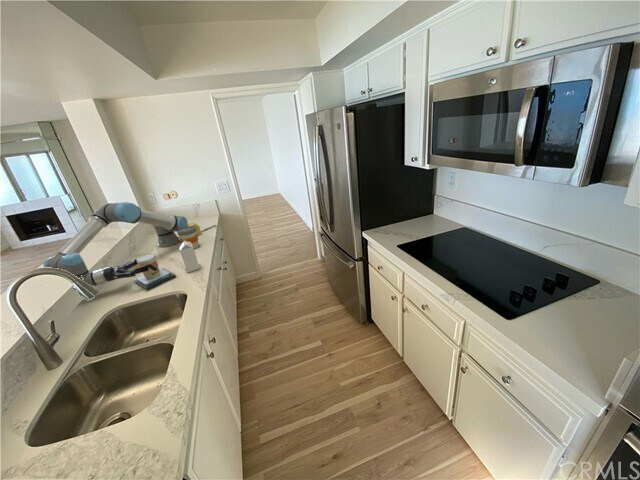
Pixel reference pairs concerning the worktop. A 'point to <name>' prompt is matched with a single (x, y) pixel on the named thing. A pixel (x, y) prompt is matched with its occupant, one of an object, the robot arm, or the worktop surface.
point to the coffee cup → (149, 266)
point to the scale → (155, 279)
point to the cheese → (195, 227)
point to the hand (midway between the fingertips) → (149, 263)
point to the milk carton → (189, 256)
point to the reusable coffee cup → (189, 235)
